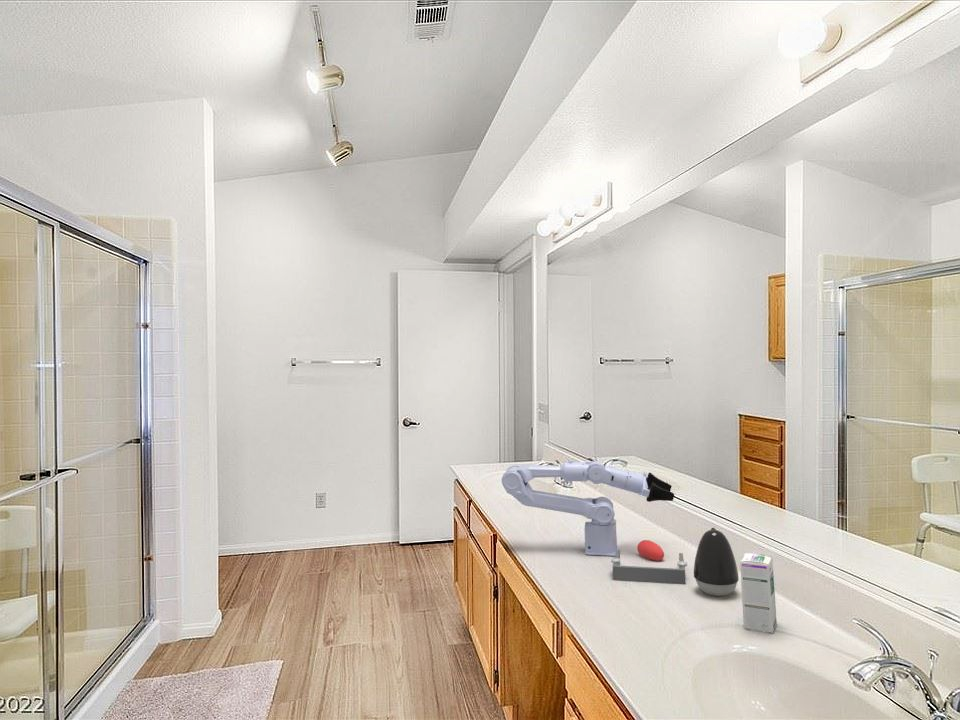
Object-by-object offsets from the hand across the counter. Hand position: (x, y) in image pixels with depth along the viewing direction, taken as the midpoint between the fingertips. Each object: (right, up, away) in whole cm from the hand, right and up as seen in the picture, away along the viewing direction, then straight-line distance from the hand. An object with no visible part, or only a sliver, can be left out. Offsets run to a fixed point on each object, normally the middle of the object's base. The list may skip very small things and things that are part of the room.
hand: (672, 493), depth 178 cm
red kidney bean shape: (-7, -18, -3) cm, 20 cm away
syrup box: (+3, -17, -50) cm, 53 cm away
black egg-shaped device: (+1, -18, -31) cm, 35 cm away
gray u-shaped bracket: (-11, -18, -16) cm, 26 cm away
